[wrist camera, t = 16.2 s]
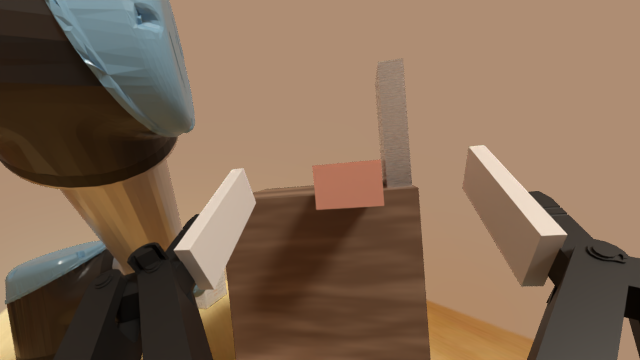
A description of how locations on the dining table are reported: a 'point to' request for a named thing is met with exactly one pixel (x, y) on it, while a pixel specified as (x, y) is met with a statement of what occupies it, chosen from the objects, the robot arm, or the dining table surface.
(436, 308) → the dining table surface
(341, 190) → the terracotta clay brick
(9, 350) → the dining table surface
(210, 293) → the small box
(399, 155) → the bookend
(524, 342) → the dining table surface
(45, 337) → the robot arm
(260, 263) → the wooden block pedestal
